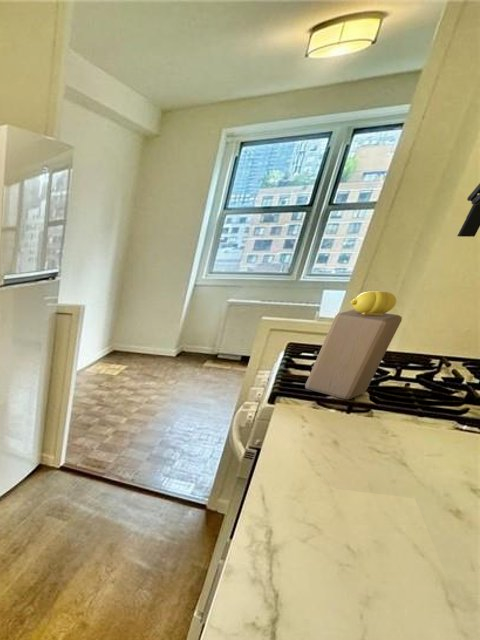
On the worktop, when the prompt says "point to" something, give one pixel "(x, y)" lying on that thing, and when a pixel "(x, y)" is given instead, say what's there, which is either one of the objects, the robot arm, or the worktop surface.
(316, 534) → the worktop surface
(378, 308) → the lemon
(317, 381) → the block
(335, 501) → the worktop surface
